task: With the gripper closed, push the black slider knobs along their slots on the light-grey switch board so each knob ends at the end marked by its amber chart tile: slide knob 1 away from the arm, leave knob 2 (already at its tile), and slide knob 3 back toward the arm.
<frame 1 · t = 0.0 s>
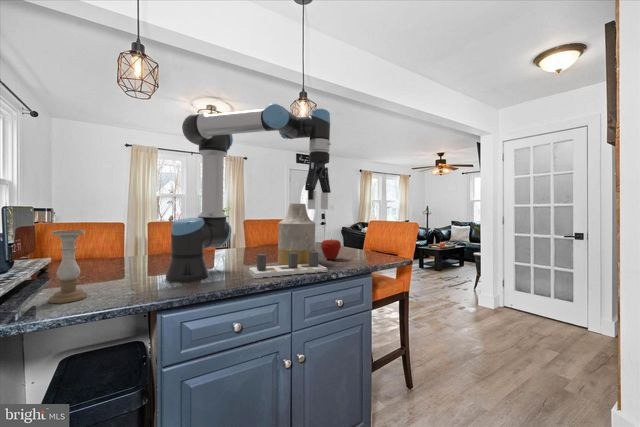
hand: (318, 209, 111), 28 cm above the counter, fingers open, 13 cm apart
candle holder: (68, 299, 88), on the counter
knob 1: (261, 261, 124), point 5 cm above the counter, slide at 0.0 cm
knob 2: (292, 259, 130), point 5 cm above the counter, slide at 4.0 cm
vase: (296, 264, 149), on the counter
knob 3: (313, 258, 135), point 5 cm above the counter, slide at 4.0 cm
switch board: (288, 272, 130), on the counter
apple: (330, 260, 163), on the counter
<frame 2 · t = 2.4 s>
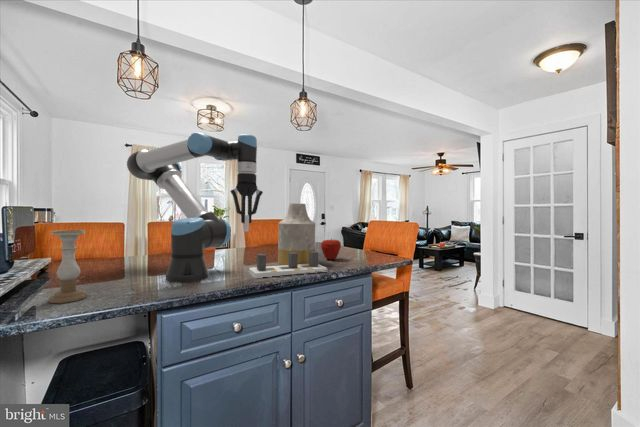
hand: (246, 231, 121), 18 cm above the counter, fingers closed
nothing on the counter moved.
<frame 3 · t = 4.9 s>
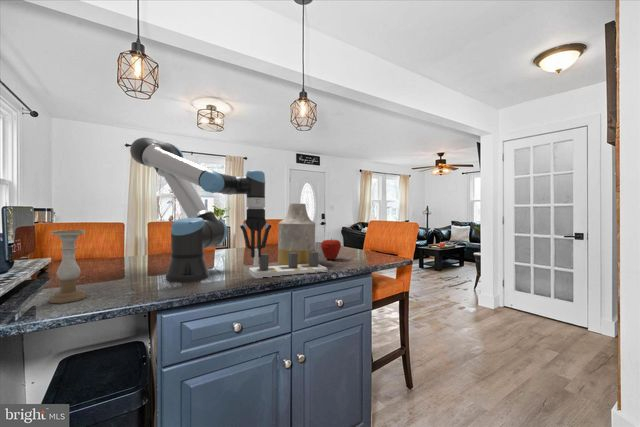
hand: (255, 265, 123), 4 cm above the counter, fingers closed
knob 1: (263, 261, 125), point 5 cm above the counter, slide at 1.1 cm, touching gripper
everything else where it was.
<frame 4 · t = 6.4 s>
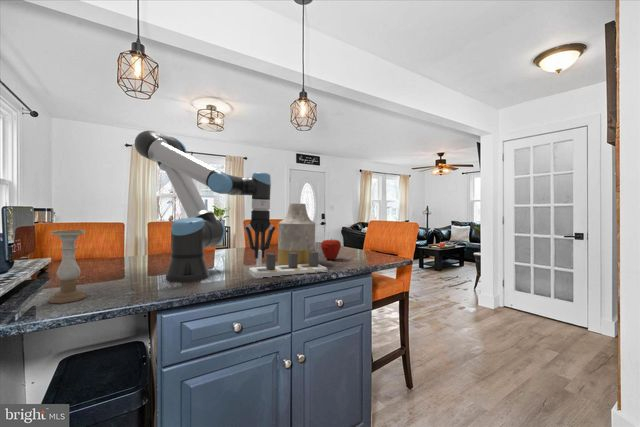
hand: (258, 265, 124), 4 cm above the counter, fingers closed
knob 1: (270, 261, 126), point 5 cm above the counter, slide at 4.0 cm
everything else where it was.
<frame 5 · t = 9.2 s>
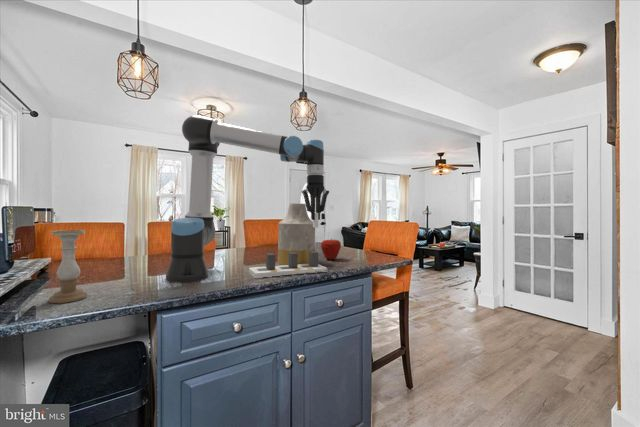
hand: (315, 227, 134), 20 cm above the counter, fingers closed
nothing on the counter moved.
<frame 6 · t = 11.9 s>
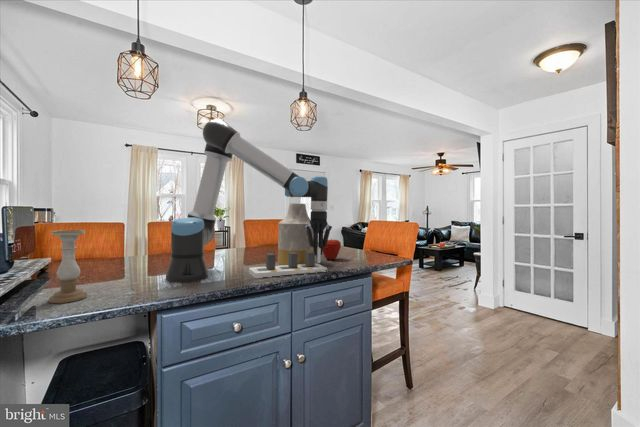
hand: (317, 262, 135), 4 cm above the counter, fingers closed
knob 3: (310, 258, 134), point 5 cm above the counter, slide at 2.2 cm, touching gripper
everything else where it was.
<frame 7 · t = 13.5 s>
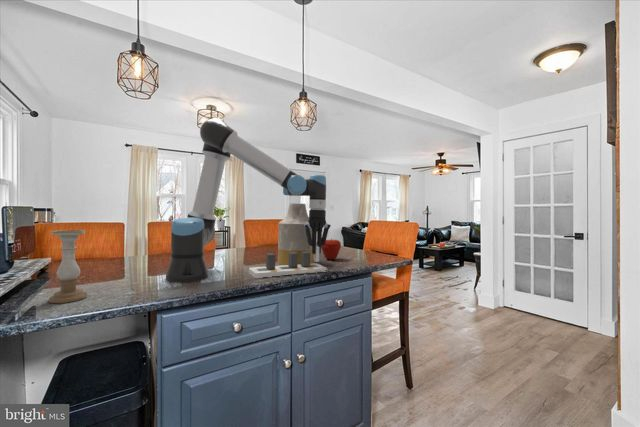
hand: (316, 260, 135), 4 cm above the counter, fingers closed
knob 3: (305, 259, 133), point 5 cm above the counter, slide at 0.0 cm
everything else where it was.
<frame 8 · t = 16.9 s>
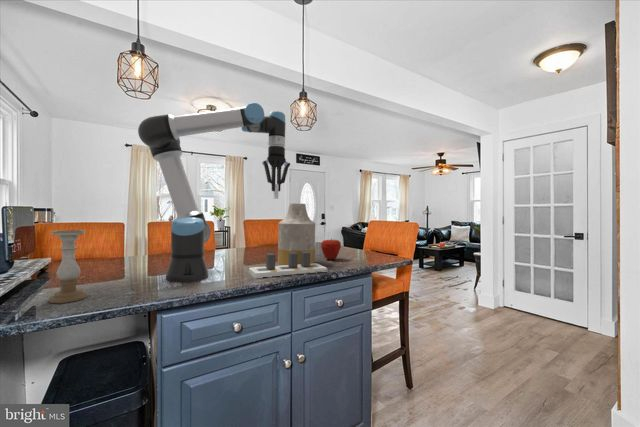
hand: (275, 198, 136), 32 cm above the counter, fingers closed
nothing on the counter moved.
at the end: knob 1 slide at 4.0 cm; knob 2 slide at 4.0 cm; knob 3 slide at 0.0 cm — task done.
